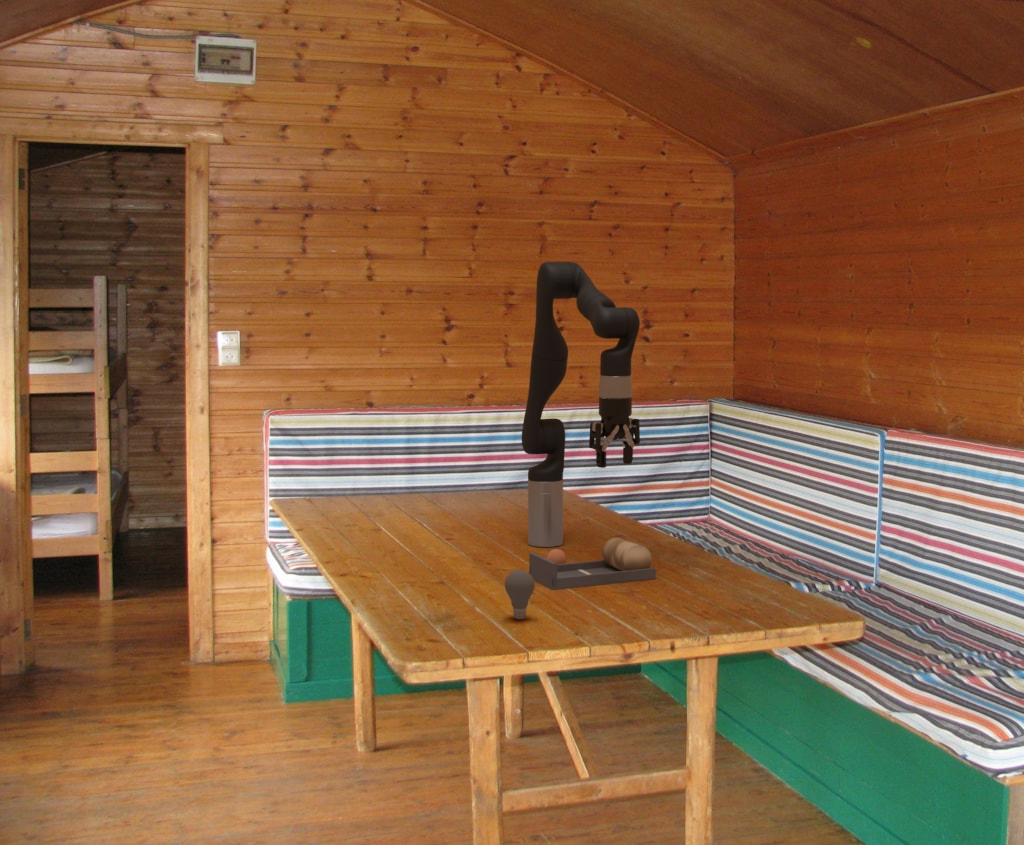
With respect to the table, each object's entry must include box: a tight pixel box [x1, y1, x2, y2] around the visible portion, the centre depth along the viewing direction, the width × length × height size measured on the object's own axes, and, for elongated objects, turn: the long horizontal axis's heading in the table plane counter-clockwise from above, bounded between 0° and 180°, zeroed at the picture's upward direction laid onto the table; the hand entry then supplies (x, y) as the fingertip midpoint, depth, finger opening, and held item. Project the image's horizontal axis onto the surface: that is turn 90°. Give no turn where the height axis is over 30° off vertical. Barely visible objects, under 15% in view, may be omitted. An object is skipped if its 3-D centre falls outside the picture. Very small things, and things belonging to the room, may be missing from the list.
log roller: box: [601, 536, 653, 571], centre depth 273 cm, size 11×7×7 cm, turn 23°
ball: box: [545, 548, 567, 565], centre depth 280 cm, size 5×5×5 cm
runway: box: [528, 552, 657, 591], centre depth 270 cm, size 13×26×6 cm, turn 113°
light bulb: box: [504, 569, 536, 621], centre depth 234 cm, size 6×6×10 cm
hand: (614, 465), depth 269 cm, fingers open, 8 cm apart
